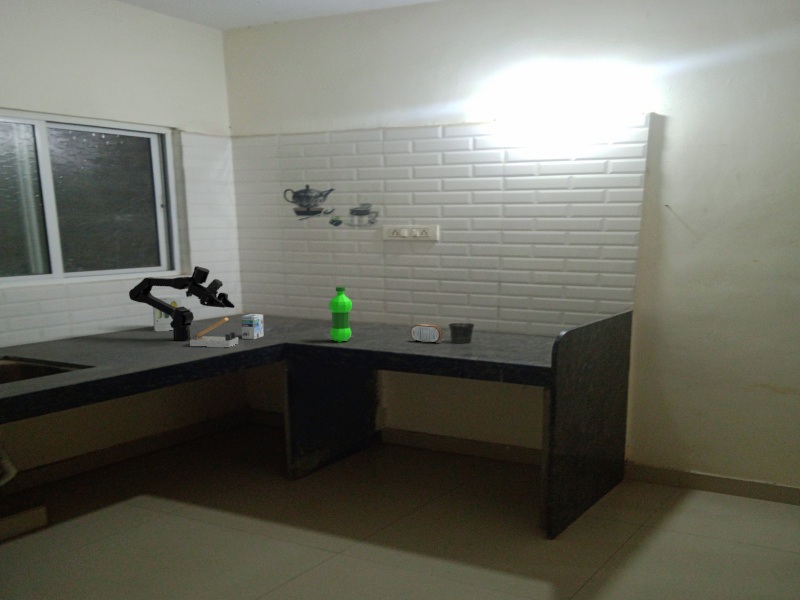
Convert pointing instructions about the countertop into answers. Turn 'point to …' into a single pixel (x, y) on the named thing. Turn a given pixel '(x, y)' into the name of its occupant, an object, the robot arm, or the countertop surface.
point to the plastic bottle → (340, 316)
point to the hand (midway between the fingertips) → (229, 306)
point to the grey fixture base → (214, 340)
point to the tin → (426, 332)
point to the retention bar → (212, 327)
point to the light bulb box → (252, 326)
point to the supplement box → (162, 318)
